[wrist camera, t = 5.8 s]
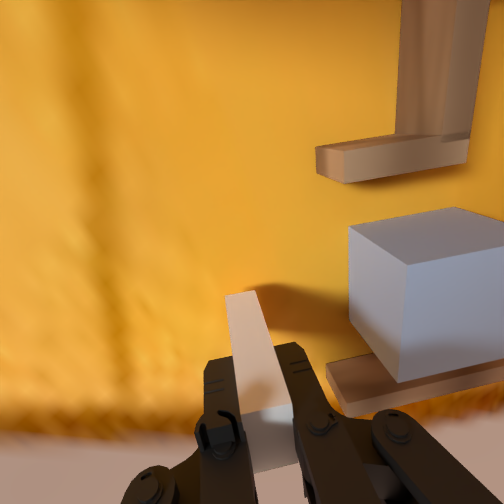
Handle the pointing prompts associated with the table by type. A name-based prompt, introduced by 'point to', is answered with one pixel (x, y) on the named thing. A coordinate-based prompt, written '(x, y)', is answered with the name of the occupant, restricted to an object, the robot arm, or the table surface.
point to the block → (428, 290)
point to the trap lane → (416, 159)
